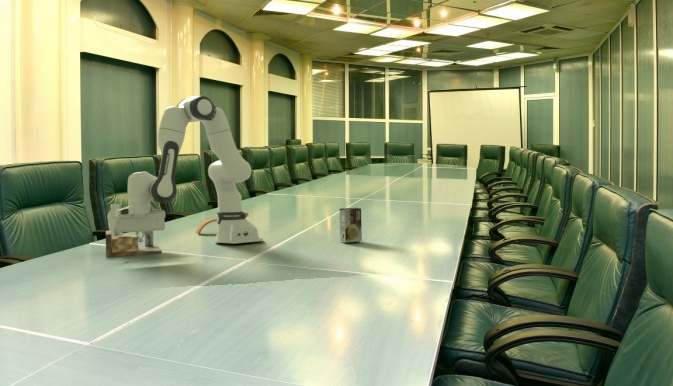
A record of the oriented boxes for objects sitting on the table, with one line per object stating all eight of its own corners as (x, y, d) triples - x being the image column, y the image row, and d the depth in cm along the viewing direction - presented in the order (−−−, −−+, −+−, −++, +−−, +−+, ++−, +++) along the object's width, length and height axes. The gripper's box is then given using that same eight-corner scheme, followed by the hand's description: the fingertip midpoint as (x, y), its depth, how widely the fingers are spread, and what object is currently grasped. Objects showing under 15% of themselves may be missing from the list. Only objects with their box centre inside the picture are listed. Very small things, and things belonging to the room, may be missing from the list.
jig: (158, 248, 220) (158, 228, 220) (161, 253, 205) (161, 231, 205) (106, 251, 211) (106, 230, 211) (106, 256, 197) (105, 234, 196)
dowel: (153, 246, 225) (152, 220, 225) (153, 247, 222) (153, 221, 222) (144, 247, 224) (144, 221, 224) (145, 248, 221) (144, 221, 220)
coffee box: (355, 240, 243) (355, 207, 243) (362, 241, 237) (361, 208, 237) (339, 241, 239) (339, 208, 239) (345, 242, 233) (344, 208, 233)
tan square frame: (137, 248, 213) (137, 235, 213) (138, 251, 204) (138, 237, 204) (112, 249, 209) (111, 236, 209) (112, 252, 200) (111, 239, 200)
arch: (194, 238, 257) (194, 219, 257) (232, 236, 267) (231, 217, 266) (197, 239, 252) (196, 220, 252) (235, 237, 262) (235, 218, 261)
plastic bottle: (118, 249, 218) (117, 204, 217) (104, 249, 219) (103, 204, 219) (127, 247, 224) (126, 203, 224) (113, 247, 226) (112, 203, 225)
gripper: (164, 208, 216) (165, 239, 216) (113, 210, 208) (114, 243, 208) (165, 209, 210) (166, 241, 211) (113, 211, 202) (114, 244, 202)
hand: (140, 242), depth 209 cm, fingers closed
